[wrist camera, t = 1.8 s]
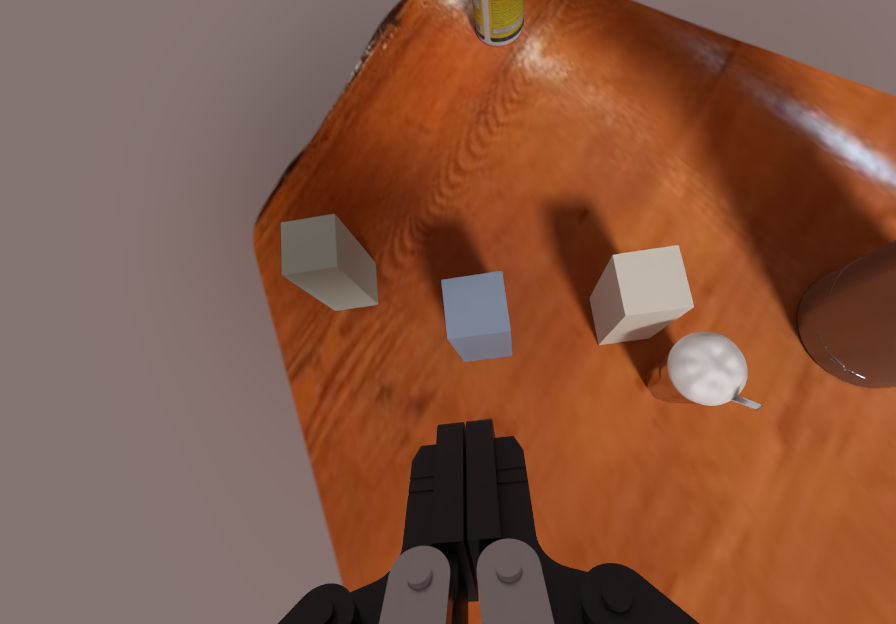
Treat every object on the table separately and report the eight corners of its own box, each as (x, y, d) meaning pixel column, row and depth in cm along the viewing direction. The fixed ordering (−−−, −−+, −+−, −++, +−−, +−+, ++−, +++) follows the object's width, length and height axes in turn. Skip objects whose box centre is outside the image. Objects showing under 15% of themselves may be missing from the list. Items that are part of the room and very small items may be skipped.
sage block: (375, 262, 43) (334, 213, 33) (378, 304, 42) (337, 266, 32) (333, 268, 43) (280, 222, 34) (335, 310, 42) (281, 275, 33)
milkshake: (671, 432, 36) (727, 431, 26) (624, 374, 38) (661, 354, 28) (719, 397, 36) (792, 384, 27) (670, 341, 38) (722, 310, 28)
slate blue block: (505, 309, 40) (501, 270, 31) (512, 355, 39) (510, 330, 30) (458, 315, 41) (441, 279, 31) (464, 361, 40) (447, 339, 30)
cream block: (638, 291, 39) (678, 245, 29) (649, 338, 38) (693, 306, 28) (589, 297, 39) (612, 254, 30) (598, 344, 38) (625, 315, 29)
